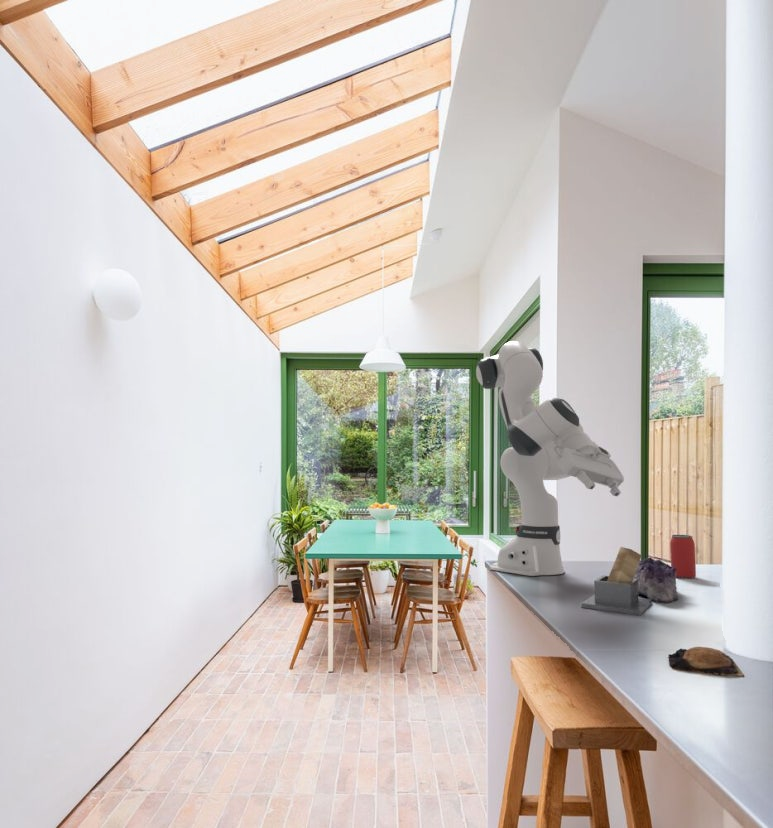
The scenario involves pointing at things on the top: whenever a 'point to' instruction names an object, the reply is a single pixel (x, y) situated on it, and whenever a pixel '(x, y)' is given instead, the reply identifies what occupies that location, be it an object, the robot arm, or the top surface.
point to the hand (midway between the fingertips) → (604, 491)
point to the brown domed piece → (704, 662)
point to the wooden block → (624, 566)
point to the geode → (656, 580)
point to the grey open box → (616, 597)
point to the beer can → (683, 556)
